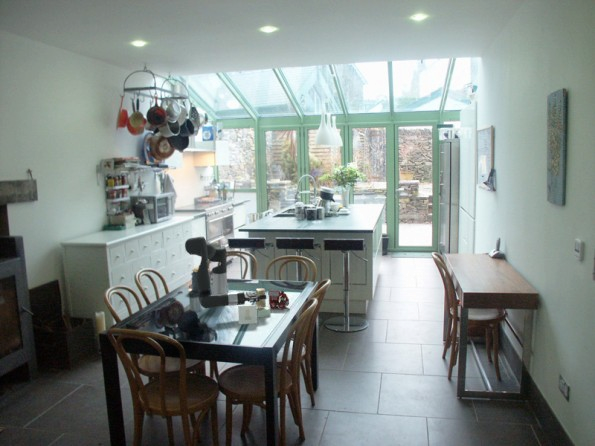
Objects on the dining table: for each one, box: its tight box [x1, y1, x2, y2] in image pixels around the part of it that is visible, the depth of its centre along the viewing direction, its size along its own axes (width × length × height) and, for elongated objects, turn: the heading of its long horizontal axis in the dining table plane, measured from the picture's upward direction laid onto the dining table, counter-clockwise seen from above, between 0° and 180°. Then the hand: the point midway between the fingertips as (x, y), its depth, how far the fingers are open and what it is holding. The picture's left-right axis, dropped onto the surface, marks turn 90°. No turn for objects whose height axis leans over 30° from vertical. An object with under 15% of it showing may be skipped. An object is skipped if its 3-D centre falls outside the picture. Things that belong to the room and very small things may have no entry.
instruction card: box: [237, 304, 258, 325], centre depth 271 cm, size 10×3×10 cm, turn 96°
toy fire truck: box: [267, 290, 290, 310], centre depth 298 cm, size 7×12×10 cm, turn 81°
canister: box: [190, 264, 212, 293], centre depth 340 cm, size 13×13×18 cm
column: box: [255, 287, 267, 308], centre depth 284 cm, size 4×4×10 cm
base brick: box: [257, 306, 272, 319], centre depth 285 cm, size 8×8×4 cm
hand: (265, 295), depth 285 cm, fingers closed on column, 4 cm apart
